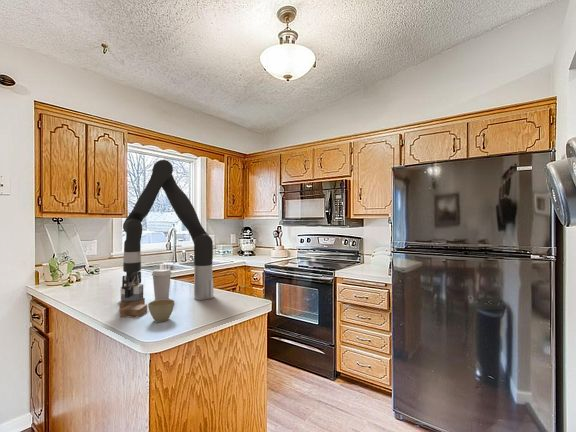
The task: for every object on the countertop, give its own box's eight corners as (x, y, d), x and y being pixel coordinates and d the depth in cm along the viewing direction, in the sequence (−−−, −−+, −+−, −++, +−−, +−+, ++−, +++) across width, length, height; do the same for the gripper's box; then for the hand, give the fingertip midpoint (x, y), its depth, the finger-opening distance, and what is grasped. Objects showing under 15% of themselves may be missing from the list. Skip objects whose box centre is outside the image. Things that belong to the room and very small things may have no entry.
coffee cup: (147, 300, 157) (147, 271, 158) (161, 296, 166) (161, 268, 166) (162, 302, 154) (161, 272, 154) (175, 297, 163) (175, 269, 163)
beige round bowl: (153, 316, 131) (153, 299, 131) (177, 315, 132) (177, 299, 132) (144, 324, 121) (144, 306, 121) (170, 323, 122) (170, 305, 122)
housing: (143, 298, 149) (143, 282, 149) (138, 301, 144) (138, 284, 144) (126, 299, 149) (126, 282, 149) (121, 301, 144) (121, 284, 144)
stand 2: (147, 311, 139) (147, 304, 139) (139, 316, 131) (139, 309, 131) (128, 311, 139) (128, 304, 139) (120, 317, 131) (119, 310, 131)
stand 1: (144, 304, 151) (144, 297, 151) (137, 308, 143) (137, 302, 143) (127, 304, 150) (127, 298, 150) (119, 309, 142) (119, 302, 142)
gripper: (133, 263, 140) (133, 299, 140) (146, 259, 154) (146, 292, 154) (116, 263, 140) (116, 299, 140) (131, 259, 154) (130, 292, 154)
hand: (132, 295), depth 147 cm, fingers open, 8 cm apart
